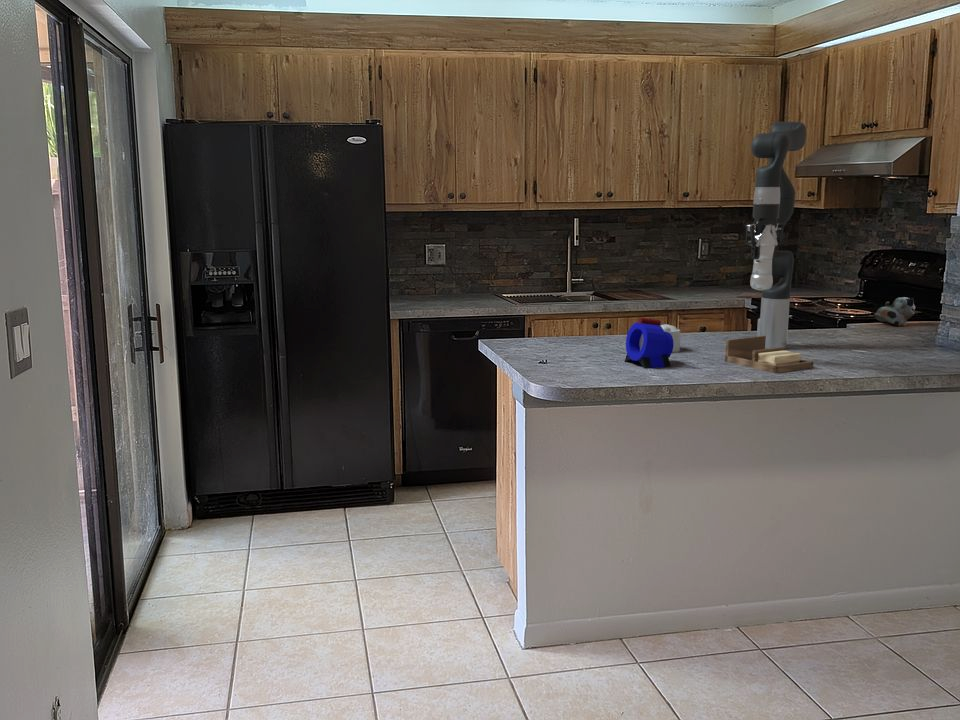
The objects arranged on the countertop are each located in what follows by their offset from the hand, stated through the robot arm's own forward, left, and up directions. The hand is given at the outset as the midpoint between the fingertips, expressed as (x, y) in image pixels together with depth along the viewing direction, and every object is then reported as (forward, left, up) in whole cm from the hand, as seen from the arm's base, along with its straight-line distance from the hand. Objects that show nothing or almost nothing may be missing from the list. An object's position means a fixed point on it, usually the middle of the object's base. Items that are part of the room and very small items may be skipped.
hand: (763, 258), depth 267 cm
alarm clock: (-18, -27, -33) cm, 47 cm away
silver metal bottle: (0, 0, -10) cm, 10 cm away
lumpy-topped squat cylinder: (-35, -9, -33) cm, 49 cm away
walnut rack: (+5, 0, -33) cm, 33 cm away
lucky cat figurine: (-34, +112, -33) cm, 122 cm away
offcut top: (+9, 0, -30) cm, 31 cm away
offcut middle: (+9, 0, -32) cm, 33 cm away
